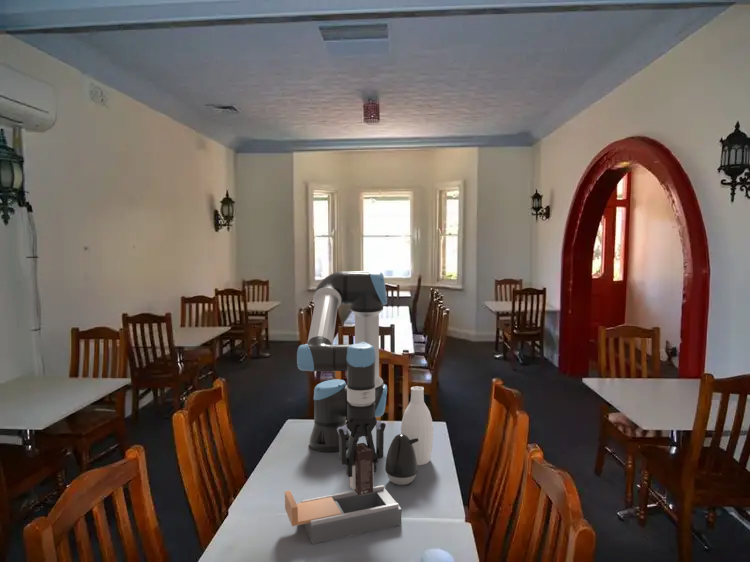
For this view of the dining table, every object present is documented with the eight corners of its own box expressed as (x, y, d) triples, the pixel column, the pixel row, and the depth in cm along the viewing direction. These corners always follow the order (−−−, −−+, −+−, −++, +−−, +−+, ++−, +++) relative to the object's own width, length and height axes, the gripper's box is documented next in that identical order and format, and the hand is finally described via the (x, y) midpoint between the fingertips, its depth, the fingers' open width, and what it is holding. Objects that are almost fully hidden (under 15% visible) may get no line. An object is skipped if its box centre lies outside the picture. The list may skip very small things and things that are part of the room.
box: (374, 492, 142) (373, 449, 140) (359, 496, 140) (357, 453, 138) (365, 483, 147) (364, 441, 146) (350, 486, 145) (349, 444, 144)
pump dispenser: (416, 490, 160) (416, 442, 158) (382, 487, 162) (382, 439, 160) (420, 475, 170) (420, 429, 168) (388, 472, 172) (388, 427, 170)
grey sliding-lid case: (300, 518, 145) (300, 499, 144) (383, 501, 154) (383, 483, 153) (312, 544, 133) (312, 523, 132) (401, 524, 141) (401, 505, 141)
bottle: (424, 470, 173) (424, 395, 171) (394, 462, 179) (394, 389, 177) (438, 457, 183) (439, 386, 180) (410, 450, 189) (410, 381, 186)
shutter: (285, 508, 141) (284, 491, 140) (331, 499, 145) (331, 483, 145) (292, 526, 132) (291, 508, 132) (341, 516, 137) (341, 498, 137)
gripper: (333, 410, 134) (334, 497, 137) (396, 402, 141) (396, 486, 143) (325, 401, 141) (326, 485, 144) (386, 394, 148) (386, 474, 150)
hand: (361, 485), depth 143 cm, fingers closed on box, 4 cm apart
